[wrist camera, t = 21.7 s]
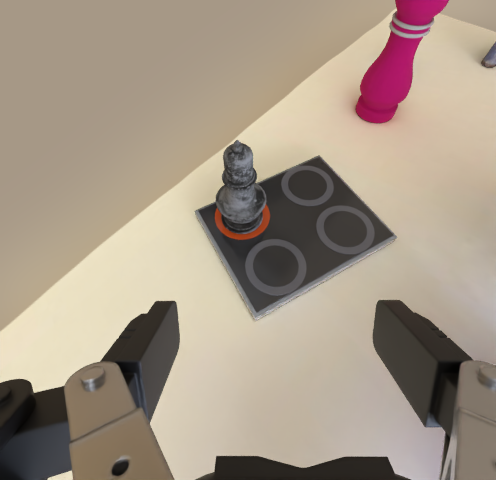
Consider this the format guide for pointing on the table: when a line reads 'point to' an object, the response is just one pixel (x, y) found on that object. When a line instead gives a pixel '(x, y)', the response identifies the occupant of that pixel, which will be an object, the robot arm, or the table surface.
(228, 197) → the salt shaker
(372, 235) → the hob
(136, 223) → the table surface
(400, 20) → the pepper mill
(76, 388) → the robot arm
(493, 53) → the flask
